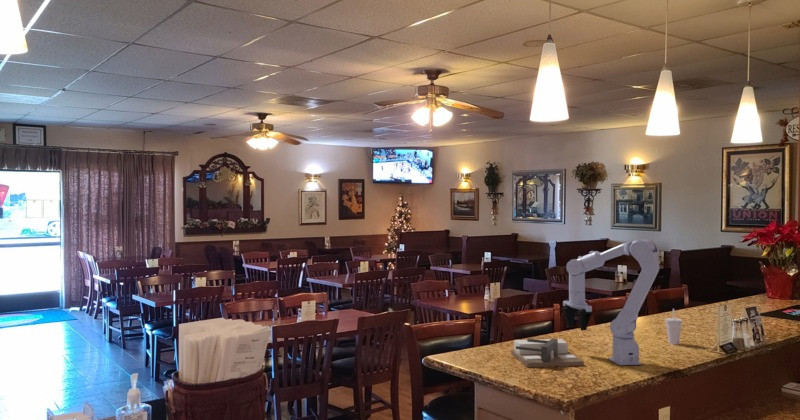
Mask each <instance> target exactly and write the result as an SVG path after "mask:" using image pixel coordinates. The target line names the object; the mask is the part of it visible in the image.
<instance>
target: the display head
mask: <svg viewBox="0 0 800 420" xmlns="http://www.w3.org/2000/svg"><path fill="white" fill-rule="evenodd" d="M551 339H552V338H548V339H547V338H546V339H543V338H541V339H537V338H536V340H545V341H550V340H551ZM557 339H558V353H557V354H556V355H555V356H554V350H552V351H551V359H550V360H549V361H548V362H544V361H541V352H538V351H530V350H521V349H516V346H520V347H529V348H538V349H541V347H542V346H543V345H544V344H546V343H539V342H530V341H527V339H514V340H513V349H510V354H511V355H512V357H514V356H515V357H516V358H515V357H514V358H515V359H517V360H518V361H519V362H520V361H521V362H522V363H523V364H522V363H521V362H520V363H521V364H522V365H523V366H525V367H526V368H550V367H551V368H552V367H553V368H554V367H555V366H558V367H580V366H582V367H584V366H585V361H584V360H582V359H581V358H580V357H577V356H576V355H575V354H573V353H572V352H570V351H569V350H568V349H569V345H568V344H569V343H568V342H567V341H565V340H563V339H562V338H557Z"/></svg>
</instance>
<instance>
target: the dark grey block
mask: <svg viewBox="0 0 800 420" xmlns="http://www.w3.org/2000/svg"><path fill="white" fill-rule="evenodd" d="M550 339H551V340H550V341H545V340H537V338H536V339H533V338H527V339H526V340H527V341H530V342H539V343H546V344H544V345H543V346H542V347H541V349H538V348H529V347H520V346H516V349H521V350H530V351H538V352H541V361H544V362H548V361H549V360H550V359H551V351H552V350H554V356H555V355H556V354H557V353H558V339H559V338H550Z"/></svg>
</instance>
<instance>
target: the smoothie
mask: <svg viewBox="0 0 800 420" xmlns="http://www.w3.org/2000/svg"><path fill="white" fill-rule="evenodd" d="M664 322H665V326H666V333H667V339H668V340H667V341H668V345H669V344H670V345H672V344H673V346H675V345H676V346H677V345H678V346H679V345H680V339H681V332H682V331H681V330H682V324H683V319H681V318H675V308H672V317H667V318H665V319H664Z"/></svg>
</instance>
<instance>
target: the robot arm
mask: <svg viewBox="0 0 800 420" xmlns="http://www.w3.org/2000/svg"><path fill="white" fill-rule="evenodd" d="M659 251H660V249H659V248H658V246H657V244H656V243H655V242H654V240H652V239H650V238H643V239H635V240H633V241H628V242H624V243H621V244H619V245H617V246H614V247H612V248H609V249H607V250H604V251H602V252H600V251H598V250H595V251H594V250H591V251H589V252H588V254H584V255H583V256H582V255H579V256H578V257H577V258H574V259H570V260H569V261H568V262H567V263H566V266H565V268H566V272H567V273H568V300H563V301H562V306H563V307H561V310H562V313H563V314H564V316H565V319H566V324H567V327H568V328H569V327H570V328H571V327H574V326H575V319H576V312H577V316H578V318H579V319H578V320H579V328H580V331H587V330H588V326H589V322H590V319H591V317H592V316H593V315H594V311H592V310H593V306H592V305H590V304H588V303H587V302H586V279H585V278H586V272H589V271H592V270H596V269H597V268H600V267H603V266H604V265H605V262H606V261H608V260H612V259H614V258H617V257H620V256H623V255H626V256H632V257H633V258H634V259H635V260H636V261H637V262H638V264H639V266H640V268H641V271H640V273H639V275H638V277H637V279H636V281H635V283H634V285H633V287H632V288H631V291H630V293H629V295H628V296H627V299H626V301H625V304H624V305H623V308H622V309H621V310H620V311H619V313H618V314H617V316H616V317H615V318H614V319H613V320H611V322H610V324H609V330H610V332H611V334H612V357H611V356H610V357H608V358H607V360H609V361H611V362H613V363H615V364H617V365H619V366H635V365H637V366H638V365H639V366H640V365H642V362H640V347H639V344H638V342H637V341H636V340H635V333H634V332H635V330H636V329H637V322H638V321H637V320H638V319H639V312H640V311H641V308H642V306H643V304H644V302H645V300H646V297H647V295H648V294H649V292H650V290H651V287H652V285H653V283H654V282H655V280H656V277H657V275H658V273H659V272H660V262H659V261H660V260H659Z"/></svg>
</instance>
